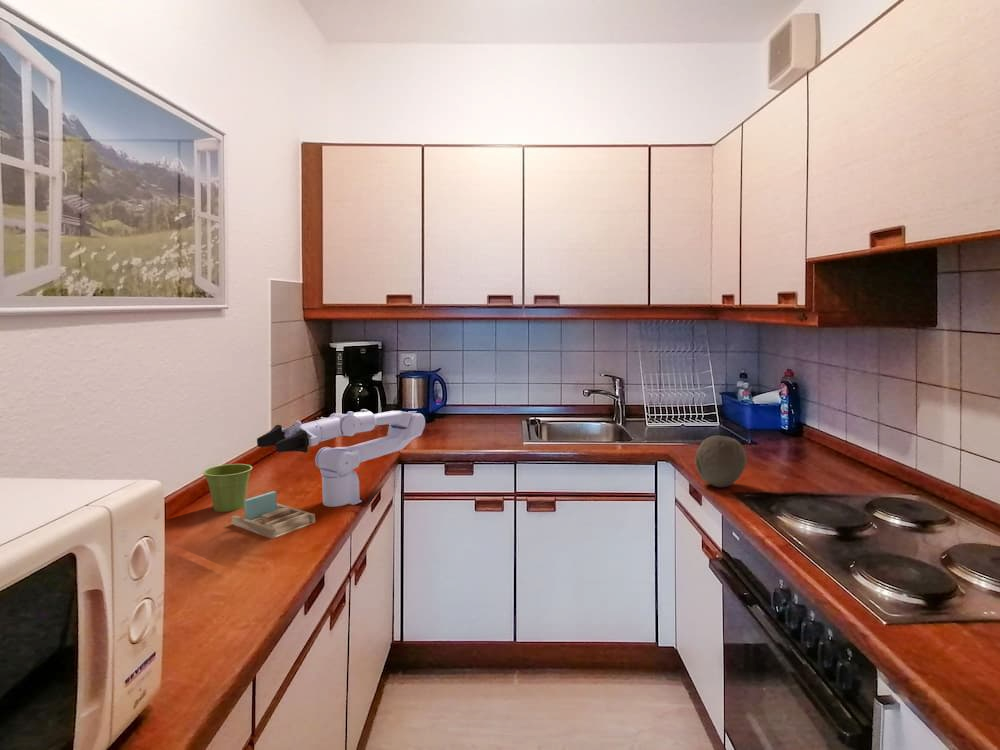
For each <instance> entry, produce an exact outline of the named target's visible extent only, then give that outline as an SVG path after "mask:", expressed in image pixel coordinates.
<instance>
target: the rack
mask: <svg viewBox="0 0 1000 750" xmlns="http://www.w3.org/2000/svg"><path fill="white" fill-rule="evenodd" d="M281 508H288V509H290V513H291V514H290V515H287V516H284V517H282V518H279V519H276V520H273V521H270V522H267V523H265V525H263V524H260V523H259V521H262V517H260V518H257V519H254V520H248V519H245V517H242V516H239V515H236V514H235V515H231V525H232V526H235V527H238V528H241V529H244V530H247V531H248V532H252V533H256V534H257V535H261V536H263V537H266V538H269V539H275V538H278V537H280V536H284V535H287V534H289V533H292V532H293V531H296V530H299V529H301V528H304V527H307V526H309V525H312V524H315V523H316V514H315V513H311V512H308V511H304V510H303V509H299V508H295V507H291V506H288V505H285V504H281V503H278V502H277V510H278V509H281Z"/></svg>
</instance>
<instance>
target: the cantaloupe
mask: <svg viewBox="0 0 1000 750" xmlns="http://www.w3.org/2000/svg"><path fill="white" fill-rule="evenodd" d="M747 457H748V456H747V452H746V450H745V448H744V447H743V445H742V443H741V442H740V441H738V439H736V438H733V437H730V436H727V435H712V436H708V437H706V438H704V440H703V441H702V442H701V443H700V445H698V448H697V450H696V453H695V458H694V461H695V463H694V465H695V468H696V472H697V473H698V475H699V476H700V478H701V479H702V481H704V482H705V483H707V484H709V485H710V486H712V487H715V488H725V487H728V486H731V485H732V484H734V483H735V482H736V481H737V480H738V479H739V478H740V477H741V475H742V473H743V471H744V470H745V468H746V464H747Z"/></svg>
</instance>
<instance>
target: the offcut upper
mask: <svg viewBox="0 0 1000 750" xmlns="http://www.w3.org/2000/svg"><path fill="white" fill-rule="evenodd" d="M290 514H291V513H290V509H288V508H281V509H278V510H275V511H273V512H270V513H267V514H264V515H262V521H264V522H270V521H273V520H276V519H279V518H282V517H284V516H287V515H290Z"/></svg>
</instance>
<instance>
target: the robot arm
mask: <svg viewBox="0 0 1000 750" xmlns="http://www.w3.org/2000/svg"><path fill="white" fill-rule="evenodd" d="M383 425H384V426H385V425H389V426H388V428H387V429H388V430H387V435H386V436H382V437H379V438H375V439H372V440H367V441H365V442H360V443H356V444H354V445H349V446H338V447H329V446H324V447H321V448H320V449H319V450H318V451H317V453H316V454H315V459H314V461H315V466H316V467H317V468H318V469H319V471H320V474H321V484H322V485H321V486H322V487H321V488H322V489H321V490H322V504H323V506H325V507H329V508H330V507H331V508H332V507H333V508H334V507H336V508H337V507H342V506H346V505H353V506H354V505H358V504H360V503H362V500H361V499H360V498H361V497H360V479H359V476H358V474H357V472H356V471H355V470H354V469H357V468H359V465H360V463H364V462H366V461H367V462H368V461H369V460H373V459H377V458H380V457H382V456H385V455H389V454H393V453H396V452H399V451H402V450H404V448H406V446H408V445H409V444H410V443H411V442H412V441H413V440H414V439H415V438H418V437H420V436H422V434H423V432H424V429H425V427H426V418H425V416H424V415H423V414H422V413H420V412H417V413H416V412H408V411H402V410H389V411H383V412H378V413H373V412H372V411H370V410H368V409H366V408H362V409H360V411H356V412H354V411H350V410H349V411H347V412H346V413H337V412H333V413H331V414H330V415H329V416H328V417H324V418H321V419H317V420H312V421H308V422H305V423H302V422H301V420H295V421H294V422H293V425H291V426H288V427H286V428H283V427H282V425H281V424H276V425H274V427H273V428H272V429H270V430H269V431H268V432H266V433H265V434H262V435H261V436H259V437H258V438H256V444H257V447H258V448H266V447H275V451H276V452H277V453H284V452H285V453H286V452H299V453H300V452H301V453H308V451H309V446H310V447H314V446H317V445H319V443H322V442H324V441H327V440H328V441H329V440H332V439H334V438H337V437H341V436H343V437H344V436H345V437H353V436H355V434H358V433H359V434H360V433H364V432H370V431H372V430H374V428H375V427H376V426H383Z"/></svg>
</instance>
